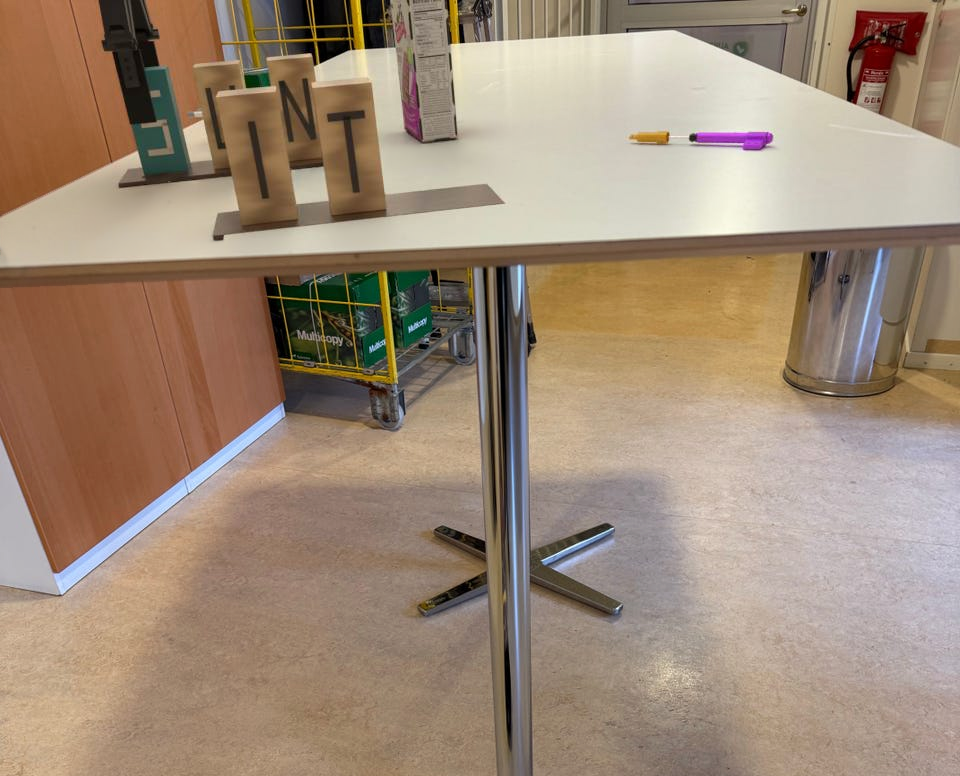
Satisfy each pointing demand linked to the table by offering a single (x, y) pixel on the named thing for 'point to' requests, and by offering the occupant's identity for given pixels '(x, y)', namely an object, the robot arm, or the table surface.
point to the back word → (210, 78)
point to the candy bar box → (425, 68)
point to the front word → (345, 161)
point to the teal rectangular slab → (162, 129)
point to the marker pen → (710, 138)
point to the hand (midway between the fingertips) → (150, 115)
